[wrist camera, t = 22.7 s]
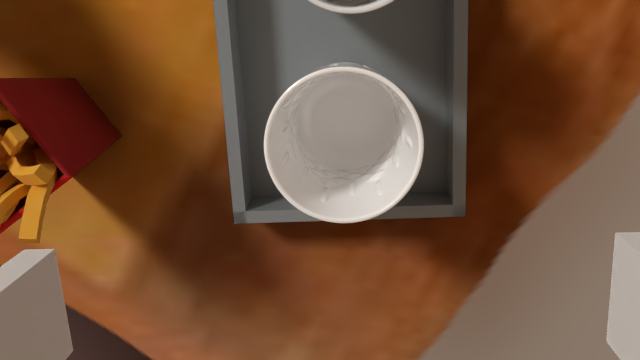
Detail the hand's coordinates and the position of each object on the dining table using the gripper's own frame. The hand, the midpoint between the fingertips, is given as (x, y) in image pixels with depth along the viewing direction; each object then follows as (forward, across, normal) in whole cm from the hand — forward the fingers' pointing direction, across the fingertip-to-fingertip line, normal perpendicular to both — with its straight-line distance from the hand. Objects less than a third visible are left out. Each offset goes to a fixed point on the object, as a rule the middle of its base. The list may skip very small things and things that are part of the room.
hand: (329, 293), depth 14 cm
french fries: (+27, +19, +2) cm, 33 cm away
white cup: (+26, 0, 0) cm, 26 cm away
